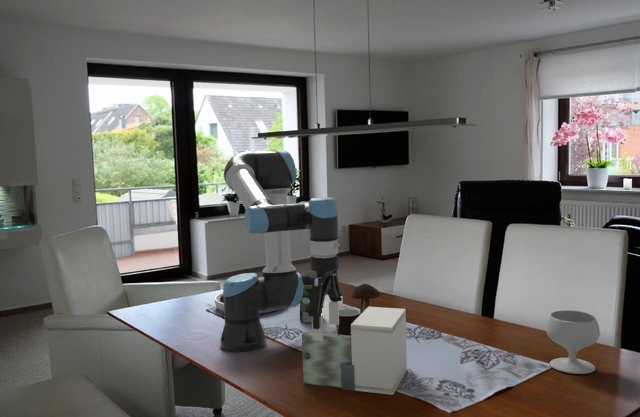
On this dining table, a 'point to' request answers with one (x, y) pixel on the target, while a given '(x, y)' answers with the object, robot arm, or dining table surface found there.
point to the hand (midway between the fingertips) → (326, 331)
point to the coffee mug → (346, 321)
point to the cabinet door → (325, 358)
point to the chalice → (572, 338)
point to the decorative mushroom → (365, 295)
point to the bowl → (220, 303)
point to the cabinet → (379, 349)
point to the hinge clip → (347, 377)
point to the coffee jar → (306, 297)
